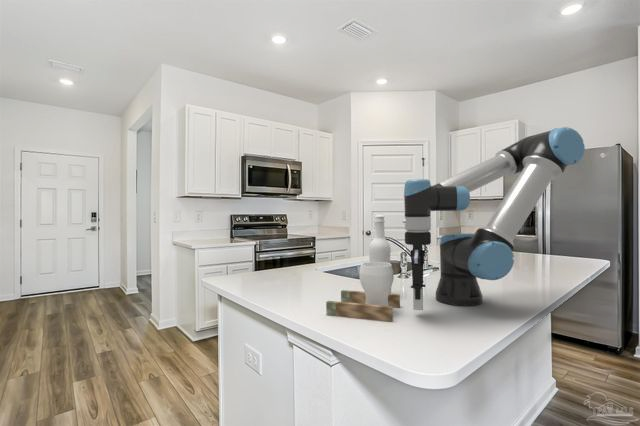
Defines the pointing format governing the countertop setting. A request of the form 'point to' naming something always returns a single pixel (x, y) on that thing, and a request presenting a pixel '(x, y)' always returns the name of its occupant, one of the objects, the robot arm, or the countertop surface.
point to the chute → (362, 306)
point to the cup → (376, 281)
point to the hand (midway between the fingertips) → (418, 309)
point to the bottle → (379, 243)
